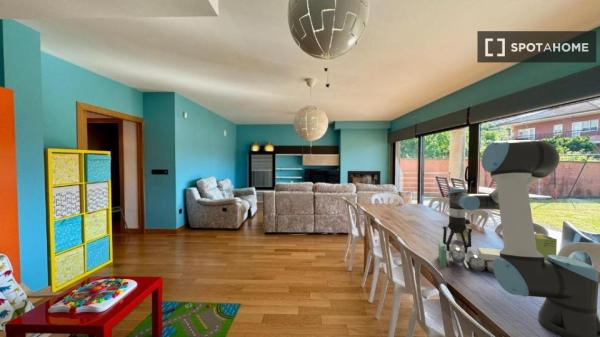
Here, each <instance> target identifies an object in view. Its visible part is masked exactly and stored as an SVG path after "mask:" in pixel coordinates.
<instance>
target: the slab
mask: <svg viewBox="0 0 600 337" xmlns="http://www.w3.org/2000/svg"><path fill="white" fill-rule="evenodd" d="M476 249H477V250H476V251H477V252H476V253H477V254H478V255H479V257H480V258H481V259H485V260H492V261H494V260H495V259H496V258H499V257H500V253H499V252H500V251H501V250H502V249H495V248H489V247H488V248H487V247H486V248H485V247H479V246H478V247H477V248H476Z"/></svg>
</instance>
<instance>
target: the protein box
mask: <svg viewBox="0 0 600 337" xmlns="http://www.w3.org/2000/svg"><path fill="white" fill-rule="evenodd" d="M534 235H535V242H536V249H537V251H538V252H539V253H541V254H542V255H543V256H544V261H547V259H546V257H547V256H548V255H557V249H558V248H557V245H558V244H557V239H556V238H554V237H551V236H549V235H546V234H544V233H534Z"/></svg>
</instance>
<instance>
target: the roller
mask: <svg viewBox="0 0 600 337" xmlns="http://www.w3.org/2000/svg"><path fill="white" fill-rule="evenodd" d="M450 245H451V259H452V260H453V261H454V262H455V263H457V264H458V263H459V264H463V261H464V260H465V261H466V258H465V257H466V255H465V256H464V254H463V252H462V249H461V248H462V247H460V246H459V245H458V244H450Z"/></svg>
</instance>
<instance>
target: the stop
mask: <svg viewBox="0 0 600 337" xmlns="http://www.w3.org/2000/svg"><path fill="white" fill-rule="evenodd" d="M446 256H447V247H446V244H444V243H443V241H438V260H439V263H440V264H439V265H440V266H441V267H443V268H445V267H447V262H446Z"/></svg>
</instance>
